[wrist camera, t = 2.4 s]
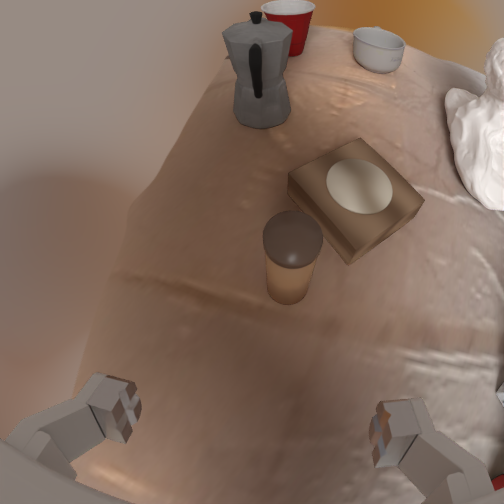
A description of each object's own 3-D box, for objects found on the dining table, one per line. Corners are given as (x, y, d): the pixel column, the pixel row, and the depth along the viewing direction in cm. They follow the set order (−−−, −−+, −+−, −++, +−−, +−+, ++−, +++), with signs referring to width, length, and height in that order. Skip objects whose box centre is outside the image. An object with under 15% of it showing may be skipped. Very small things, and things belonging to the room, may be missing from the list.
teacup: (395, 85, 49) (404, 53, 42) (344, 68, 52) (349, 36, 45) (400, 60, 55) (407, 32, 47) (357, 46, 57) (360, 18, 50)
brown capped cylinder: (281, 313, 32) (285, 275, 22) (258, 279, 34) (251, 228, 24) (316, 290, 33) (334, 243, 23) (292, 258, 35) (299, 201, 25)
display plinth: (348, 265, 34) (357, 249, 30) (287, 193, 39) (288, 171, 35) (413, 217, 36) (426, 198, 32) (354, 157, 41) (360, 136, 37)
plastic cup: (266, 40, 59) (264, -4, 48) (313, 43, 57) (315, -1, 47) (259, 60, 54) (256, 10, 44) (312, 64, 53) (315, 13, 42)
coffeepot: (236, 90, 49) (224, 1, 33) (289, 90, 49) (290, -1, 33) (227, 149, 43) (208, 38, 27) (293, 149, 42) (298, 35, 26)
